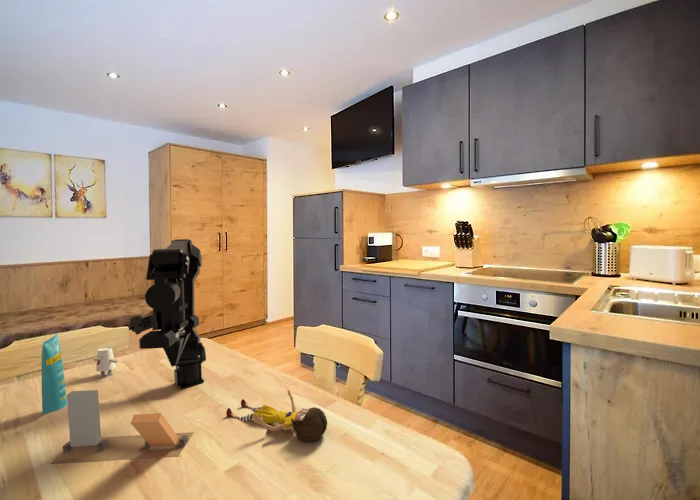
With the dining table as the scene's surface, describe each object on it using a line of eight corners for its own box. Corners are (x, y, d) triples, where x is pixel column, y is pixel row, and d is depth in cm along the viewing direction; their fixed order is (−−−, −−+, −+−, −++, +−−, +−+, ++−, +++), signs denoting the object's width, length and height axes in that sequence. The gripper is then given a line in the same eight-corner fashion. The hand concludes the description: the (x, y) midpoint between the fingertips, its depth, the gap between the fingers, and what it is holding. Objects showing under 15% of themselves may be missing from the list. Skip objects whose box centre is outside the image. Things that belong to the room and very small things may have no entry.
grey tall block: (75, 442, 71) (72, 391, 70) (101, 440, 71) (97, 390, 70) (70, 446, 69) (66, 394, 69) (96, 445, 70) (92, 393, 69)
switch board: (80, 442, 74) (79, 432, 74) (194, 436, 76) (193, 426, 75) (50, 468, 66) (49, 456, 66) (178, 461, 68) (177, 449, 67)
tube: (62, 415, 85) (57, 339, 84) (37, 420, 83) (31, 342, 82) (71, 402, 92) (66, 331, 91) (48, 406, 90) (43, 334, 89)
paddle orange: (153, 439, 71) (133, 414, 64) (178, 437, 71) (161, 413, 64) (150, 446, 70) (130, 422, 63) (176, 445, 70) (158, 421, 63)
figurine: (252, 386, 90) (335, 392, 79) (256, 414, 90) (340, 424, 79) (213, 410, 78) (304, 421, 67) (217, 442, 78) (309, 458, 67)
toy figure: (82, 377, 108) (80, 350, 107) (99, 370, 113) (97, 344, 113) (112, 381, 105) (110, 353, 104) (128, 373, 110) (127, 347, 110)
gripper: (155, 295, 91) (158, 353, 91) (111, 311, 72) (115, 384, 73) (198, 293, 91) (201, 351, 92) (166, 309, 73) (169, 381, 74)
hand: (174, 365), depth 83 cm, fingers closed
